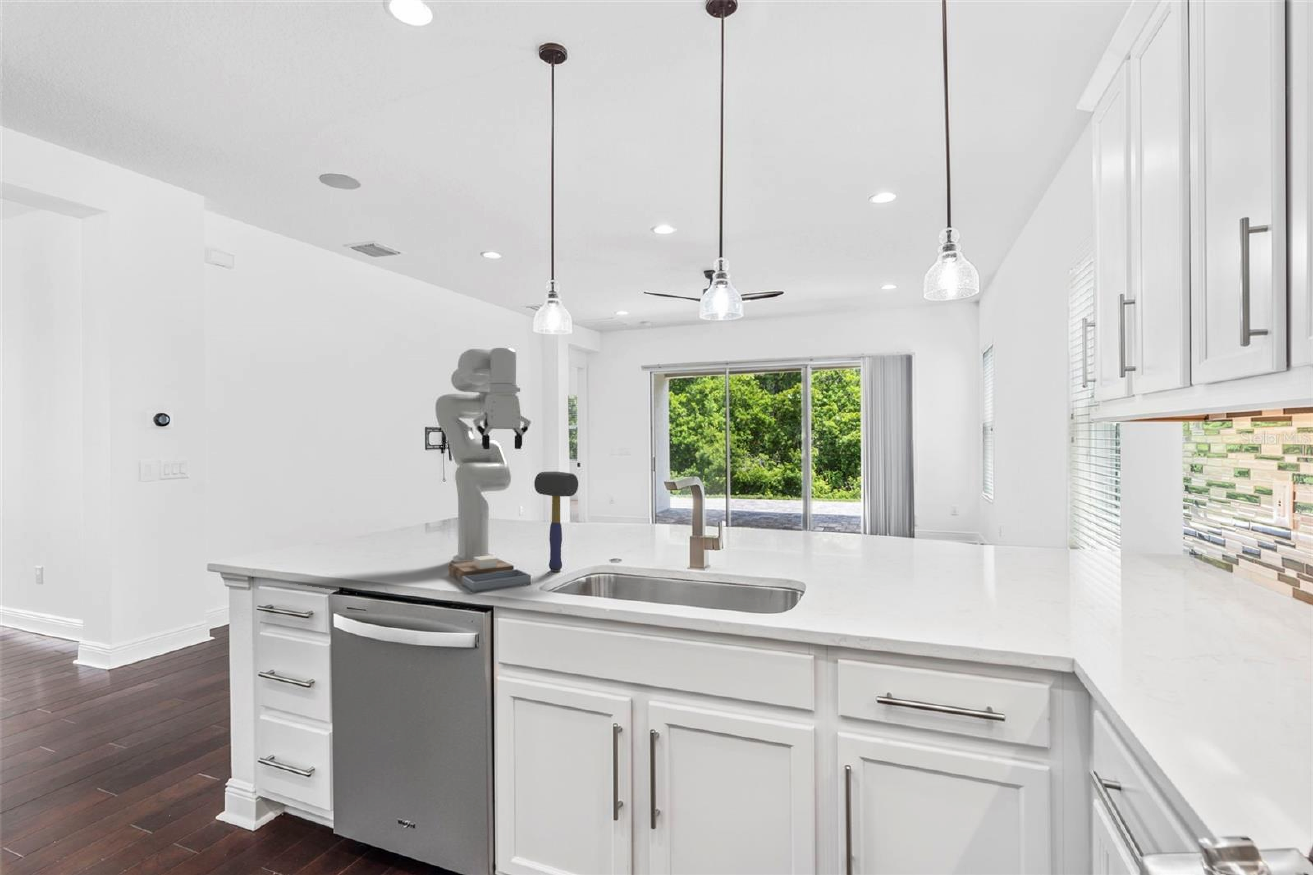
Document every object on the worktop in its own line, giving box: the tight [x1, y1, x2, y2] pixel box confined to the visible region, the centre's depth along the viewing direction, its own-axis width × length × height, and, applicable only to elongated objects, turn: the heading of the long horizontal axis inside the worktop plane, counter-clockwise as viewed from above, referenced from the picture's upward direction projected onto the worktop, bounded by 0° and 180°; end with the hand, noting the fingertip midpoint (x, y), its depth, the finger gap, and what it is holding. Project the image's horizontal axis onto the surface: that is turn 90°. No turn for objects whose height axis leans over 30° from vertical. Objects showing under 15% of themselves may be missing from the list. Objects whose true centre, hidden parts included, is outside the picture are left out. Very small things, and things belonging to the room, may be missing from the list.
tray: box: [461, 568, 532, 593], centre depth 168 cm, size 9×16×2 cm, turn 126°
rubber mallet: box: [533, 471, 579, 573], centre depth 186 cm, size 12×8×30 cm, turn 60°
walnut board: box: [448, 558, 515, 584], centre depth 178 cm, size 14×14×4 cm
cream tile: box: [474, 555, 498, 569], centre depth 175 cm, size 5×5×2 cm
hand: (502, 448), depth 181 cm, fingers open, 9 cm apart
